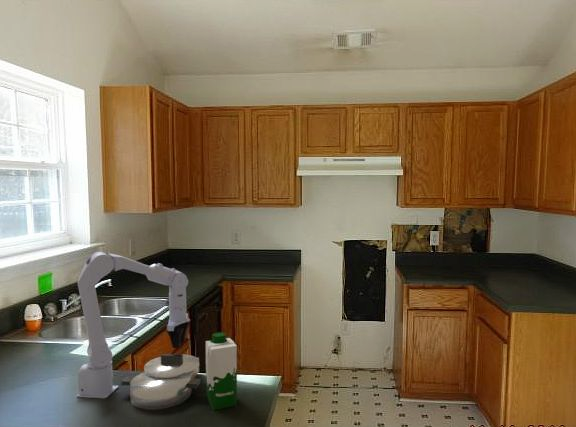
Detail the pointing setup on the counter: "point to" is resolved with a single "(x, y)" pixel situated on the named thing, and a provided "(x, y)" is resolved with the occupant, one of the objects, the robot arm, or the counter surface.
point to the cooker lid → (171, 366)
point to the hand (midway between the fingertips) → (178, 345)
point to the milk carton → (221, 371)
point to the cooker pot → (160, 390)
